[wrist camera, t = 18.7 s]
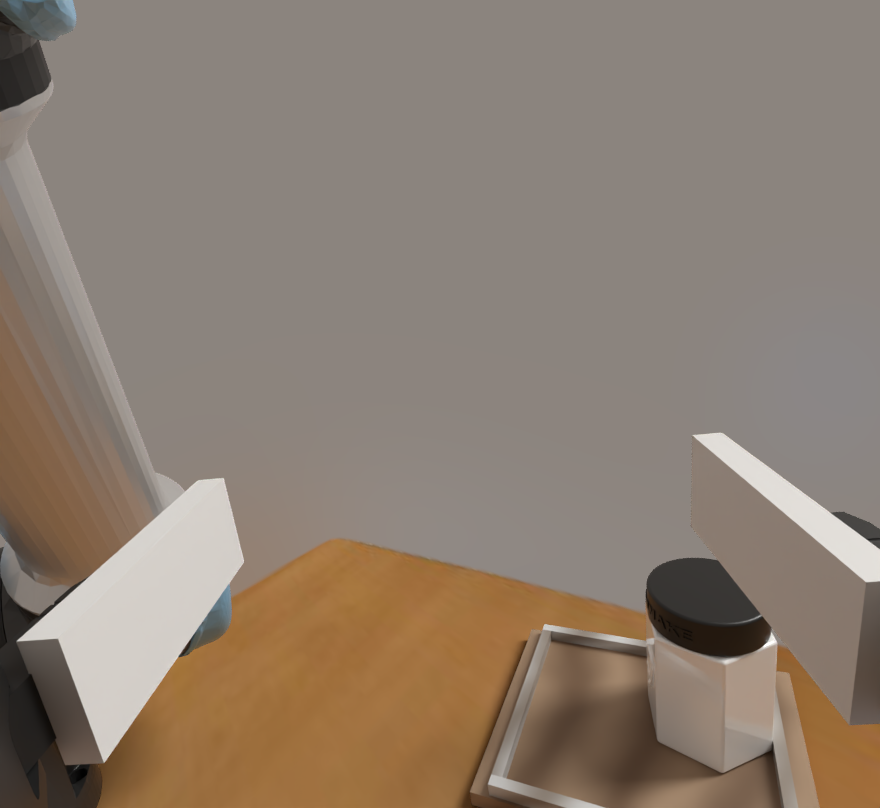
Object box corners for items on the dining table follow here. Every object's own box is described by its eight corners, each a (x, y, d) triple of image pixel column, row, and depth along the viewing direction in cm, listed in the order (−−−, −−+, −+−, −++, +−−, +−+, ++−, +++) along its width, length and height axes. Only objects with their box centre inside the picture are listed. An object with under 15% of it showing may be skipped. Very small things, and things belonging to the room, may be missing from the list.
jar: (641, 675, 47) (637, 553, 44) (744, 680, 45) (748, 553, 42) (659, 769, 39) (656, 627, 36) (787, 780, 37) (795, 631, 34)
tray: (471, 804, 39) (468, 781, 39) (532, 639, 55) (531, 620, 54) (841, 924, 30) (844, 895, 30) (788, 685, 46) (789, 663, 45)
